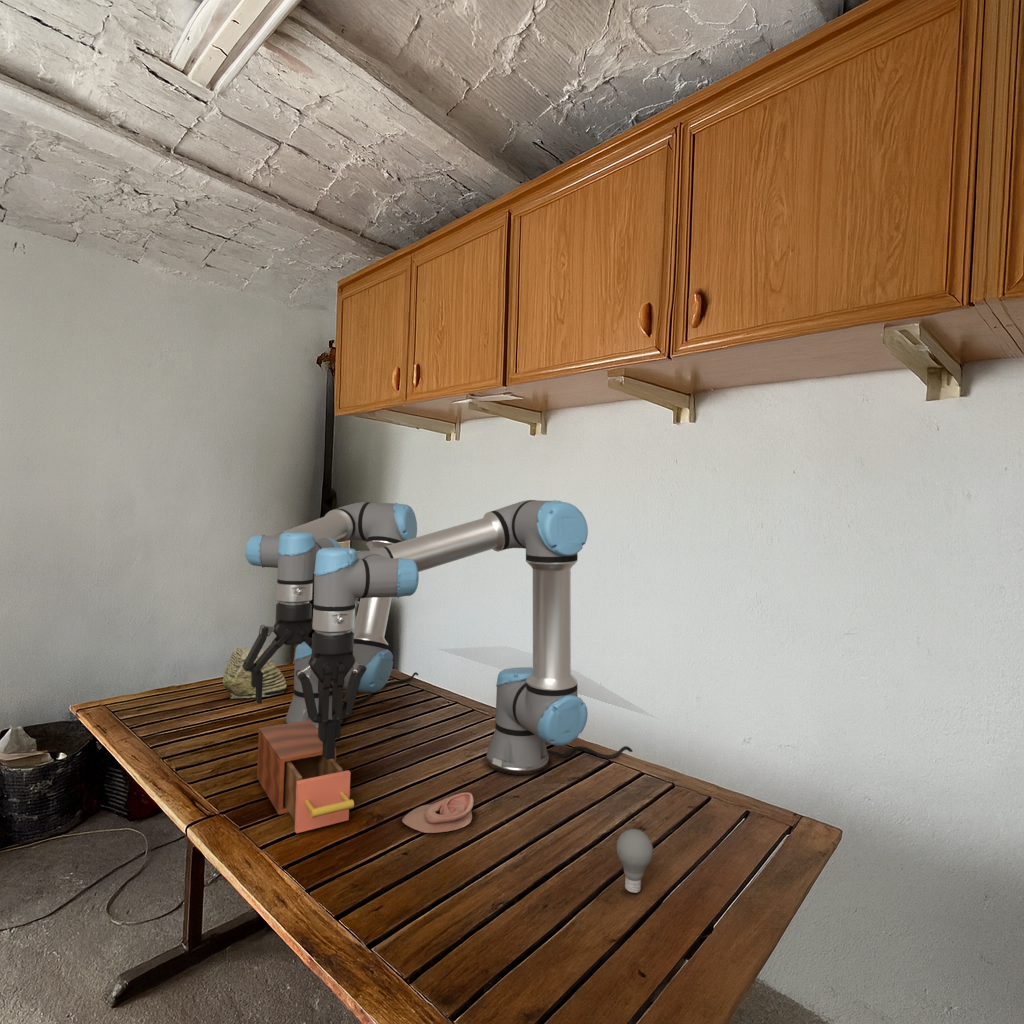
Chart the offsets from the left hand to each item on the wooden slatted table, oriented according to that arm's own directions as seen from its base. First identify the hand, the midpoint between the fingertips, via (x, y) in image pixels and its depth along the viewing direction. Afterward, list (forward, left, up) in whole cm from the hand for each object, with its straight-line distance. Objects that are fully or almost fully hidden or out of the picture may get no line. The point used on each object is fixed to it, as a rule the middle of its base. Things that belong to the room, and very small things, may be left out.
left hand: (290, 697), depth 141 cm
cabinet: (+2, +5, -18) cm, 19 cm away
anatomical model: (-11, +37, -18) cm, 42 cm away
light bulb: (-16, +77, -18) cm, 81 cm away
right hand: (+8, +26, -4) cm, 27 cm away
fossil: (-25, -60, -18) cm, 68 cm away
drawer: (+6, +18, -18) cm, 26 cm away
